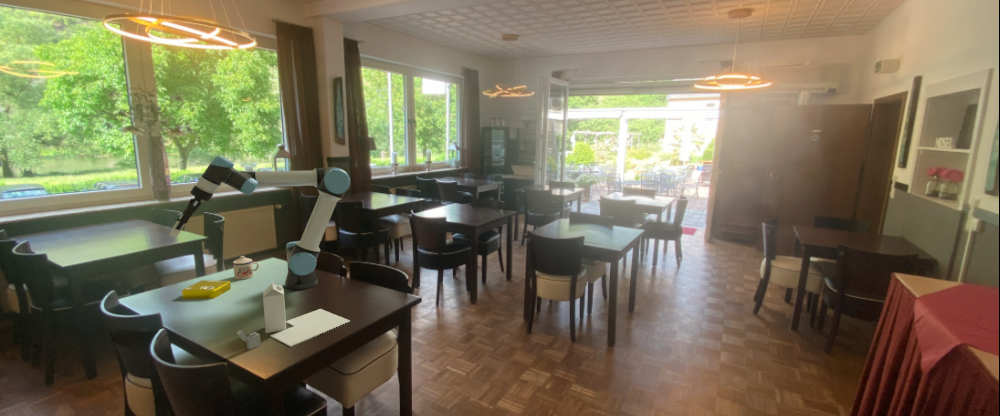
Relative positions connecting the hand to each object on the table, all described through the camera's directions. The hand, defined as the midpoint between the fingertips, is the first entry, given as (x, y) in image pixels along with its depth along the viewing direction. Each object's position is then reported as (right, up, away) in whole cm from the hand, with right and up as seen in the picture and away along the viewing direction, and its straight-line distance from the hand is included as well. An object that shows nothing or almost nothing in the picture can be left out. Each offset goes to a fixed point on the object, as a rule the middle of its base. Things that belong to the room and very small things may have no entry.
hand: (174, 232), depth 174 cm
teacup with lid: (-1, -27, +51) cm, 58 cm away
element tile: (-5, -32, +27) cm, 42 cm away
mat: (+58, -38, -6) cm, 70 cm away
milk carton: (+47, -38, -8) cm, 61 cm away
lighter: (+46, -41, -24) cm, 66 cm away
